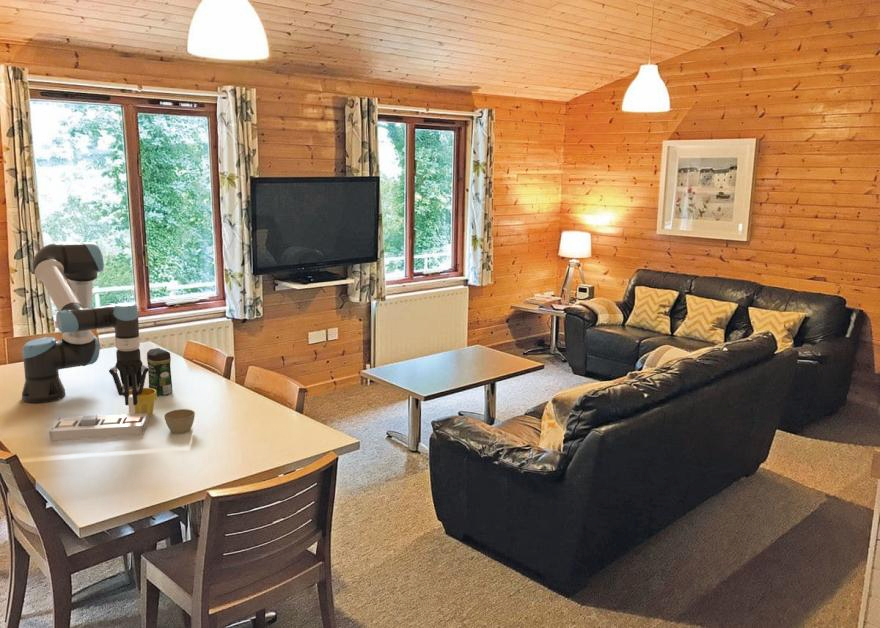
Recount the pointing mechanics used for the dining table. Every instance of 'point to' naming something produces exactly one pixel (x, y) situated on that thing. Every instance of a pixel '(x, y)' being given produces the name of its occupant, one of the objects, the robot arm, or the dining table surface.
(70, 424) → the key cream
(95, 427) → the keypad
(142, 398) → the plant pot
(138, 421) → the key terracotta
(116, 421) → the key sage
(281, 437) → the dining table surface
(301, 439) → the dining table surface
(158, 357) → the coffee jar
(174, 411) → the flower pot
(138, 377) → the mug
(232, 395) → the dining table surface
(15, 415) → the dining table surface
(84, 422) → the key slate
